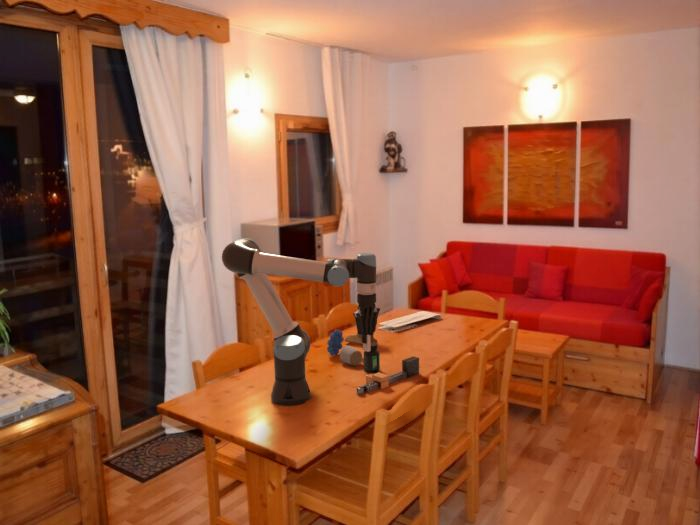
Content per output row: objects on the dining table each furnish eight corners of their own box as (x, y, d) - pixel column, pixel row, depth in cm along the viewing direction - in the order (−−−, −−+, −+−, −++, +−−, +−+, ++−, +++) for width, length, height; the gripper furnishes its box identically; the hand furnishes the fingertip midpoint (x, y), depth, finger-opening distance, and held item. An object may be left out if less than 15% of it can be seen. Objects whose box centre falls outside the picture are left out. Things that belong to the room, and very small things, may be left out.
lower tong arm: (368, 393, 233) (367, 376, 232) (365, 392, 234) (365, 375, 233) (419, 373, 253) (419, 357, 252) (416, 373, 254) (416, 357, 253)
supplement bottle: (378, 374, 254) (378, 347, 252) (362, 373, 256) (362, 346, 254) (380, 368, 261) (380, 342, 259) (365, 368, 262) (364, 341, 260)
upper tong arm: (360, 396, 230) (359, 378, 229) (354, 394, 233) (354, 376, 232) (419, 373, 253) (419, 357, 252) (413, 372, 256) (413, 356, 254)
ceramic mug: (350, 368, 263) (350, 351, 262) (339, 363, 269) (339, 347, 268) (369, 363, 269) (369, 346, 268) (357, 358, 276) (357, 342, 274)
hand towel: (377, 322, 324) (425, 309, 350) (377, 329, 324) (425, 316, 351) (393, 326, 315) (441, 313, 341) (393, 333, 315) (441, 319, 342)
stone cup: (382, 342, 300) (381, 312, 298) (370, 348, 290) (370, 318, 288) (356, 338, 308) (355, 309, 305) (343, 344, 298) (343, 314, 295)
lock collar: (381, 389, 236) (381, 378, 236) (365, 383, 243) (364, 372, 243) (388, 386, 239) (388, 375, 238) (372, 380, 246) (371, 369, 245)
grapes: (335, 350, 289) (335, 325, 287) (347, 352, 285) (346, 327, 283) (320, 356, 279) (320, 331, 277) (332, 359, 275) (331, 333, 273)
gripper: (361, 296, 228) (361, 356, 232) (385, 291, 237) (384, 349, 241) (348, 293, 234) (348, 352, 238) (371, 288, 243) (371, 345, 246)
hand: (366, 350), depth 239 cm, fingers closed
